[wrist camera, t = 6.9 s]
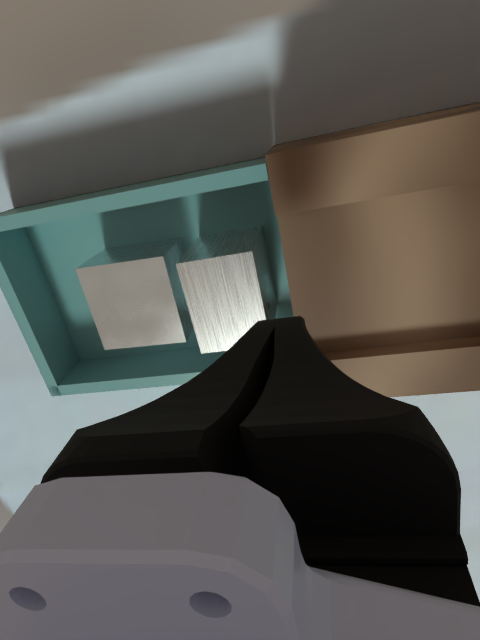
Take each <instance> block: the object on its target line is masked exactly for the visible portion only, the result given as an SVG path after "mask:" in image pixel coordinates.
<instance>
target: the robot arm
mask: <svg viewBox="0 0 480 640" xmlns="http://www.w3.org/2000/svg"><path fill="white" fill-rule="evenodd" d="M460 504H461V486H460V480H459V475H458V471H457V469H456V466H455V464H454V461H453V459H452V457H451V456H450V454H449V452H448V450H447V448H446V447H445V445H444V443H443V442H442V440H441V438H440V437H439V435H438V434H437V432H436V431H435V429H434V428H433V426H432V425H431V423H430V422H429V421H428V419H427V418H426V416H425V415H424V414H423V412H422V411H421V410H420V409H419V408H418V407H417V406H414V405H411V404H407V403H404V402H401V401H398V400H395V399H392V398H389V397H386V396H384V395H382V394H380V393H377V392H375V391H373V390H371V389H369V388H367V387H365V386H363V385H361V384H360V383H358V382H356V381H355V380H353V379H352V378H350V377H349V376H347V375H346V374H345V373H343V372H342V371H341V370H340V369H339V368H338V367H336V366H335V365H334V364H333V363H332V362H331V361H330V360H329V359H328V358H327V357H326V355H325V354H324V353H323V352H322V351H321V350H320V348H319V347H318V346H317V344H316V343H315V341H314V340H313V339H312V337H311V335H310V334H309V332H308V330H307V328H306V325H305V319H304V318H302V317H301V316H294V317H286V318H278V319H269V320H261V321H257V322H256V323H255V324H254V325H253V326H252V327H251V328H250V329H249V330H248V331H247V332H246V333H245V334H244V335H243V336H242V337H241V338H240V339H239V340H238V341H237V342H236V343H235V344H234V345H233V346H232V347H231V348H230V349H229V350H228V351H226V352H225V353H224V354H223V355H222V356H221V357H219V358H218V359H217V360H216V361H215V362H214V363H213V364H211V365H210V366H209V367H208V368H206V369H205V370H204V371H202V372H201V373H200V374H198V375H197V376H195V377H194V378H192V379H191V380H189V381H188V382H186V383H185V384H183V385H182V386H180V387H178V388H176V389H174V390H173V391H171V392H169V393H167V394H165V395H164V396H162V397H160V398H158V399H156V400H154V401H152V402H150V403H148V404H146V405H144V406H141V407H139V408H137V409H134V410H132V411H130V412H127V413H125V414H122V415H120V416H117V417H114V418H111V419H108V420H105V421H102V422H99V423H97V424H94V425H91V426H88V427H85V428H81V429H78V430H76V432H75V433H74V434H73V436H72V437H71V439H70V440H69V441H68V443H67V444H66V445H65V447H64V448H63V450H62V451H61V452H60V454H59V455H58V456H57V458H56V459H55V461H54V462H53V463H52V465H51V466H50V467H49V469H48V470H47V472H46V473H45V474H44V476H43V478H42V481H41V484H39V485H36V486H34V488H33V489H32V490H31V492H30V493H29V494H28V496H27V497H26V499H25V500H24V501H23V503H22V504H21V505H20V507H19V508H18V509H17V511H16V512H15V514H14V515H13V516H12V518H11V519H10V520H9V522H8V523H7V525H6V526H5V527H4V529H3V530H2V531H1V533H0V640H480V602H479V599H478V596H477V593H476V591H475V588H474V585H473V582H472V579H471V576H470V573H469V571H468V568H467V565H468V556H467V552H466V549H465V546H464V543H463V540H462V538H461V535H460Z"/></svg>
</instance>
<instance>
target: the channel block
mask: <svg viewBox="0 0 480 640" xmlns="http://www.w3.org/2000/svg"><path fill="white" fill-rule="evenodd" d="M265 158H266V164H267V170H268V176H269V182H270V188H271V194H272V200H273V206H274V212H275V216H277V218H278V224H279V230H280V237H281V243H282V249H283V255H284V261H285V267H286V273H287V280H288V286H289V292H290V298H291V304H292V310H293V316H301V317H302V318H304V319H305V325H306V328H307V330H308V332H309V334H310V335H311V337H312V339H313V340H314V341H315V343H316V344H317V346H318V347H319V348H320V350H321V351H322V352H323V353H324V354H325V355H326V357H327V358H328V359H329V360H330V361H331V362H332V363H333V364H334V365H335V366H336V367H338V368H339V369H340V370H341V371H342V372H343V373H345V374H346V375H347V376H349V377H350V378H352V379H353V380H355V381H356V382H358V383H360V384H361V385H363V386H365V387H367V388H369V389H371V390H373V391H375V392H377V393H380V394H382V395H384V396H386V397H399V396H412V395H426V394H439V393H452V392H466V391H479V390H480V102H478V103H473V104H468V105H463V106H458V107H454V108H449V109H444V110H439V111H435V112H430V113H425V114H420V115H416V116H411V117H406V118H401V119H396V120H392V121H387V122H382V123H377V124H373V125H368V126H363V127H358V128H353V129H349V130H344V131H339V132H334V133H330V134H325V135H320V136H315V137H311V138H306V139H301V140H296V141H291V142H287V143H282V144H277V145H274V146H273V147H272V148H271V149H270V150H269V151H268V153H267V154H266V155H265Z"/></svg>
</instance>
